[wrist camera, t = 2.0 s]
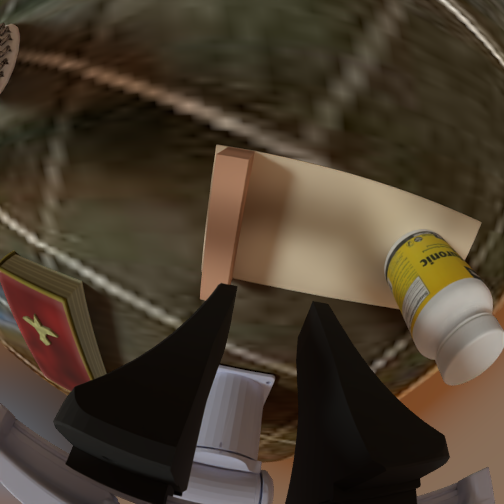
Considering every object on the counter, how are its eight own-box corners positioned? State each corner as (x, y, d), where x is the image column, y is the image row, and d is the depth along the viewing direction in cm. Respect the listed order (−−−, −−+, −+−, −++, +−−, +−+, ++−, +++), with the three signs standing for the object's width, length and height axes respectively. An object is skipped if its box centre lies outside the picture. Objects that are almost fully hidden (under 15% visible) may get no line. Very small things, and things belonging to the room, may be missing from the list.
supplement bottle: (454, 233, 16) (531, 319, 7) (427, 293, 19) (476, 389, 10) (396, 219, 16) (473, 318, 8) (371, 286, 19) (410, 399, 10)
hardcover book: (55, 360, 33) (43, 378, 29) (15, 248, 22) (-8, 266, 19) (116, 389, 33) (106, 411, 29) (87, 276, 22) (62, 303, 19)
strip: (433, 313, 20) (446, 338, 17) (202, 269, 20) (189, 296, 17) (480, 221, 15) (502, 240, 13) (217, 144, 15) (202, 152, 13)
